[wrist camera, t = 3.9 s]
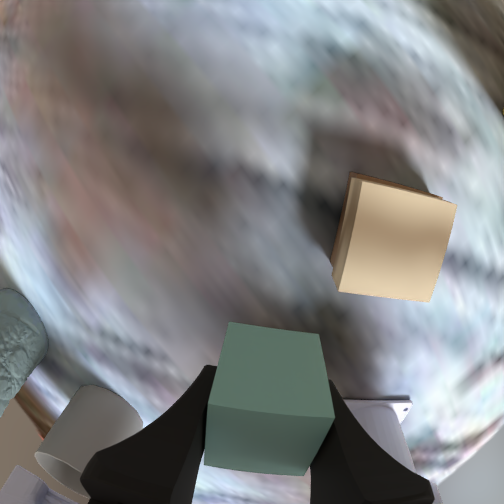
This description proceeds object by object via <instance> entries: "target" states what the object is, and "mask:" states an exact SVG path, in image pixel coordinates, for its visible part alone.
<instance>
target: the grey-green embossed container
mask: <svg viewBox="0 0 504 504" xmlns="http://www.w3.org/2000/svg"><path fill="white" fill-rule="evenodd" d="M47 350H48V337H47V333H46V330H45V327H44V325H43V323H42V321H41V319H40V317H39V315H38V314H37V312H36V311H35V309H34V308H33V306H32V305H31V304H30V303H29V302H28V301H27V300H26V298H24V297H23V296H22V295H21V294H19V293H18V292H16V291H14V290H12V289H9V288H6V289H2V290H0V417H1V416H2V414H3V412H4V410H5V409H6V407H7V406H8V404H9V400H10V399H11V398H13V397H14V396H15V394H16V393H17V392H18V391H19V390H20V388H21V386H22V385H23V384H24V383H25V381H26V380H27V377H29V375H30V374H31V373H32V371H33V370H34V369H35V368H36V366H37V365H38V364H39V363H40V361H41V360H42V359H43V358H44V356H45V355H46V353H47Z"/></svg>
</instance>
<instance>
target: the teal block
mask: <svg viewBox="0 0 504 504" xmlns="http://www.w3.org/2000/svg"><path fill="white" fill-rule="evenodd" d="M334 419H335V415H334V409H333V403H332V398H331V393H330V387H329V382H328V377H327V372H326V367H325V362H324V357H323V352H322V347H321V342H320V338H319V334H314V333H306V332H297V331H290V330H282V329H275V328H267V327H261V326H254V325H247V324H241V323H235V322H229V324H228V328H227V332H226V335H225V339H224V343H223V347H222V351H221V355H220V359H219V362H218V366H217V370H216V374H215V378H214V382H213V386H212V389H211V393H210V397H209V401H208V408H207V423H206V438H205V455H204V465H207V466H212V467H218V468H224V469H231V470H238V471H246V472H254V473H264V474H276V475H292V476H304V475H305V473H306V471H307V469H308V468H309V466H310V464H311V462H312V461H313V459H314V457H315V455H316V453H317V452H318V450H319V448H320V446H321V444H322V442H323V440H324V439H325V437H326V435H327V433H328V431H329V429H330V427H331V425H332V423H333V421H334Z"/></svg>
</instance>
